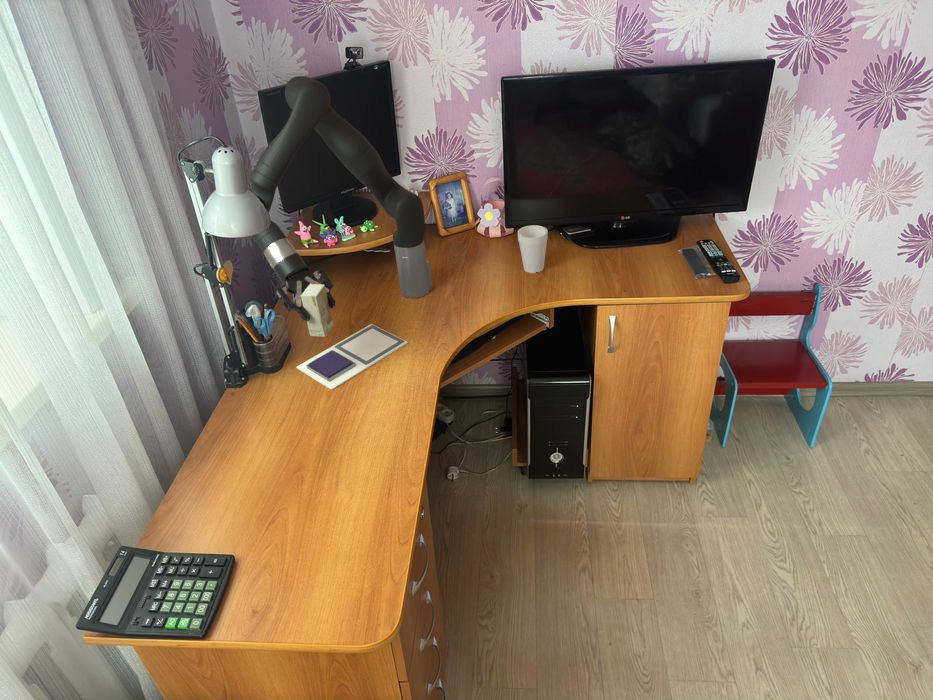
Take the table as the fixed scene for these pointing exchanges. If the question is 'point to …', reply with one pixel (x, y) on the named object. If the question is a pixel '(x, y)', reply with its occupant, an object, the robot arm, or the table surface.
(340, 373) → the ink pad
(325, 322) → the skincare box
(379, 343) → the marked board
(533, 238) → the foam cup
